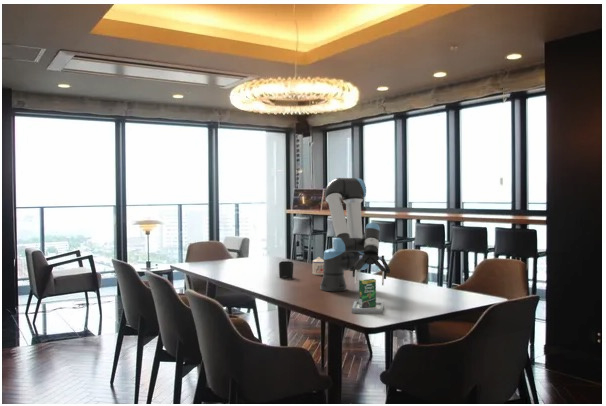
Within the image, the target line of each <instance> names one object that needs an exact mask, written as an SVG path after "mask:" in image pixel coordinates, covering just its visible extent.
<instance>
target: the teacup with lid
mask: <svg viewBox="0 0 606 406" xmlns="http://www.w3.org/2000/svg"><path fill="white" fill-rule="evenodd" d="M312 275H314V276H323V275H324V259H323V258H321V257H320V256H317V258H315V259H313V260H312Z"/></svg>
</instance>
